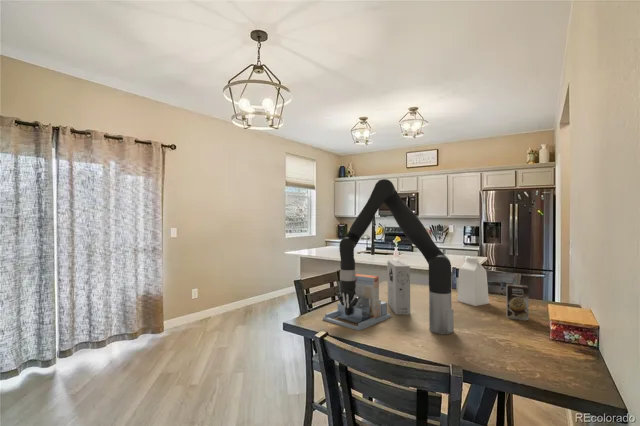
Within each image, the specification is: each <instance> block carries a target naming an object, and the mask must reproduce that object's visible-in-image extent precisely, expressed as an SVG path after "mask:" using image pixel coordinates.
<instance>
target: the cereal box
mask: <svg viewBox="0 0 640 426" xmlns="http://www.w3.org/2000/svg"><path fill="white" fill-rule="evenodd" d="M386 262H387V264H386V265H387V305H389V307H390V308H391V310H392V311H393V312H394V314H395V315H411V266H410V265H408V263H405V262H404V261H402V260H399V259H398V260H397V259H390V260H389V259H388V260H387V261H386Z"/></svg>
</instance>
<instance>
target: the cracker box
mask: <svg viewBox="0 0 640 426" xmlns="http://www.w3.org/2000/svg"><path fill="white" fill-rule="evenodd" d="M379 277H380V276H379V275H369V274H362V273H356V289H355V292H356V295H359V296H364V297H368V298H370V305H371V318H378V317H379V299H380V281H379V280H380V278H379Z"/></svg>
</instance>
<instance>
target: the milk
mask: <svg viewBox="0 0 640 426" xmlns="http://www.w3.org/2000/svg"><path fill="white" fill-rule="evenodd" d="M487 274H488V273H487V270H486V268H485V267H483V265H482V264H481V263H480V261H479V259H478V257H477V258H476V257H471V256H467V258H466V260H465V261H464V263H463V264H462V265H461V266H460V268H459V269H458V277H457V278H458V281H457V283H458V284H457V299H456V301H457V302H460V303H463V304H466V305H470V306H474V307H477V306H483V305H489V303H490V301H489V289H488V285H489V284H488V275H487Z"/></svg>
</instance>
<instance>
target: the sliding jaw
mask: <svg viewBox="0 0 640 426" xmlns="http://www.w3.org/2000/svg"><path fill="white" fill-rule="evenodd" d="M356 296H357V297H360V299H359V301H358V302H357V304H356V305H355V306H354V307H351V315H349V316H348V315H346V314H345V307H344V305H341V303H340V302H338V303H337V310H338V316H337V318H338V319H341V320H345V321H349V322H351V323H352V322H353V323H356V324H358V323H361V322H363V321H366V320H368V319H371V305H370V298H368V297H364V296H359V295H356ZM353 299H354V298H353ZM346 303H347V302H346Z"/></svg>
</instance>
